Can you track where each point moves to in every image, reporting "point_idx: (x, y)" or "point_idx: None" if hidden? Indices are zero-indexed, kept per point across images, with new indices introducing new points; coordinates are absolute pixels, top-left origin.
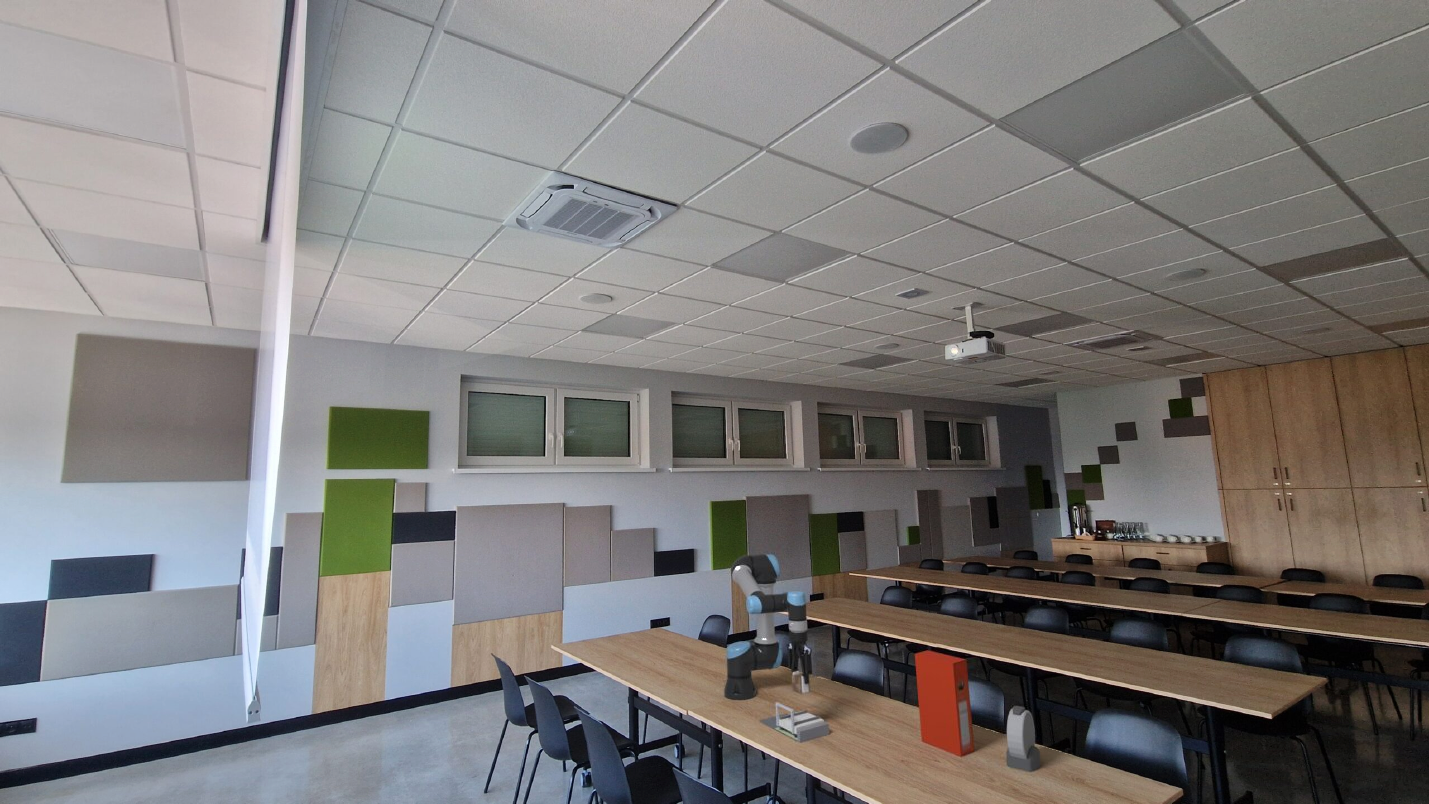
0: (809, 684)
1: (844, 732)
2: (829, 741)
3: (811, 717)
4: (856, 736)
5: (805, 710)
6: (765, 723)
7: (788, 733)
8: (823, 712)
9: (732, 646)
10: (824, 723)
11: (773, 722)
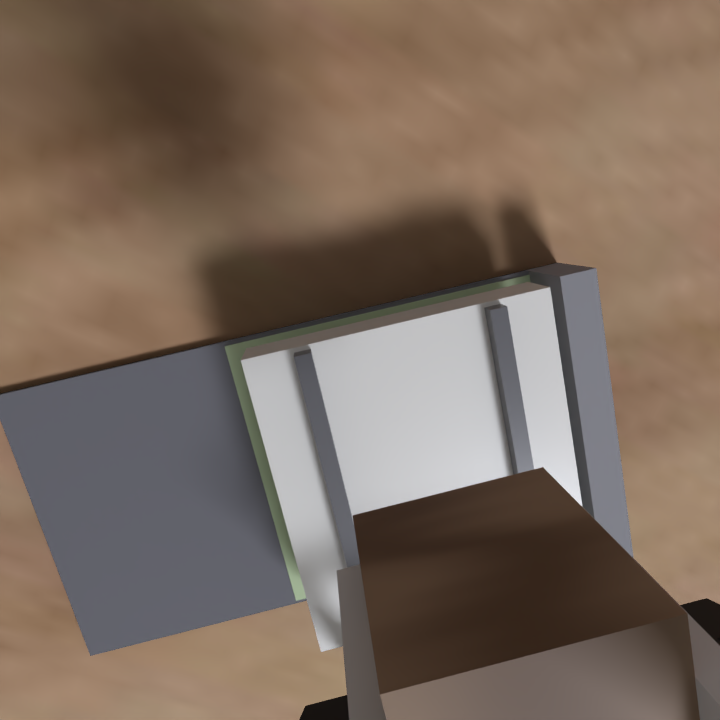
0: (589, 515)
1: (580, 122)
2: (671, 325)
3: (443, 367)
4: (693, 73)
5: (297, 366)
6: (170, 629)
7: None
8: (58, 38)
9: None
10: (575, 299)
11: (169, 568)
